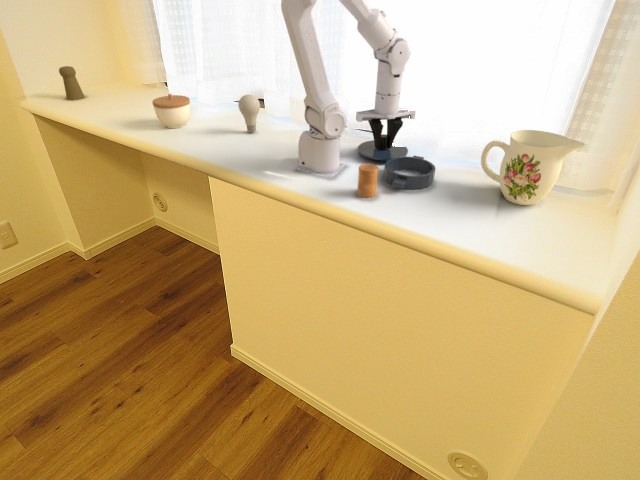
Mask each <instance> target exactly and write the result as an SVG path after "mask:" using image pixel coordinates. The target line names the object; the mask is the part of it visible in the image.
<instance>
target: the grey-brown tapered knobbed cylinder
mask: <svg viewBox="0 0 640 480" xmlns="http://www.w3.org/2000/svg"><path fill="white" fill-rule="evenodd" d="M58 73H59V75H60V76H61V78H62V82H63V85H64V92H65V97H66V99H67V100H68V101H78V100H82V99H85V98H86V97H85V94H84V92H83V90H82V88H81V86H80V84H79V81H78V79H77V77H76V74H77V73H76V69H75V68H74V67H73V66H69V65H64V66H61V67H59V68H58Z"/></svg>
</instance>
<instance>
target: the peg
mask: <svg viewBox="0 0 640 480" xmlns="http://www.w3.org/2000/svg"><path fill="white" fill-rule="evenodd" d="M378 175H379V166H378V165H376V164H373V163H361V164H360V165H359V166H358V176H357V196H358V197H360V198H363V199H372V198H374V197H376V196H377V188H378V187H377V186H378V177H379V176H378Z"/></svg>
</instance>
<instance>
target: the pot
mask: <svg viewBox="0 0 640 480" xmlns="http://www.w3.org/2000/svg"><path fill="white" fill-rule="evenodd" d="M383 168H384V169H383V180H384V182H385V183H386V184H388V185H389V186H391V187H393V188H396V189H399V190H406V191H419V190H424V189H428V188H429V187H431V186H432V185H433V183H434V181H435V173H436V166H435V165H434V164H433V162H431V161H429V160H427V159H425V157H424V156H420V155H419V156H418V155H413V156H405V157H396V158H392V159H390V160H386V162H385V163H384V167H383ZM397 171H413V172H418V173H420V174H422V175H407V174H402V173H398V172H397Z"/></svg>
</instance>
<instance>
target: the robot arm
mask: <svg viewBox="0 0 640 480" xmlns="http://www.w3.org/2000/svg"><path fill="white" fill-rule="evenodd" d="M317 1H318V0H281V2H280V9H281V13H282V17H283V20H284V24H285V26H286V30H287V33H288V37H289V40H290V43H291V47H292V50H293V54H294V58H295V61H296V64H297V68H298V71H299V75H300V78H301V81H302V84H303V88H304V92H305V95H306V96H305V97H304V98H303V104H304V120H305V122H306V124H307V125H309V130H304V131H303V132H301V134H300V136H299V139H298V145H297V146H298V147H297V148H298V167H297V170H298V171H302V172H307V173H312V174H317V175H320V176H321V175H322V176H325V177H331V178H333V177H334V176H335V175H336V174H338V173H339V172H340V171H341V170H342V169H343V168H344V167H346V164H345V163H341V162H340V161H341V160H340V156H341V155H340V154H341V138H342V134H343V132H344V131H345V129H346V127H347V121H348V120H347V116H346V114H345V113H344V111H343V110H342V109H341V108H340V104H339V101H338V99H337V98H336V96H335V95H334V93H333V92H332V89H331V87H330V83H329V80H328V75H327V71H326V66H325V63H324V59H323V55H322V51H321V47H320V43H319V39H318V35H317V32H316V31H317V30H316V27H315V24H314V19H313V16H312V12H313V11H312V10H313V9H314V7H315V5H316V3H317ZM338 1H339V2H340V4H342V6H343V7H344V8H345V9H346V10H347V11H348V12H349V13H350V14H351V16H353V18H354V19H355V20H356V21H357V25H356V29H357V32H358V33H359V34H360V35H361V37H362V38H363V39H364V40H365V42H366V43H367V44H368V45H369V46H370V48H371V49H372V50H373V57H374V59H375V60H377V71H376V73H377V74H376V85H375V86H376V88H375V97H374V108H372V109H366V110H361V111H356V113H355V120H356V122H358V123H362V122H365V121H366V122H367V121H368V125H369V127H370V129H371V133H372V136H373V140H374V144H375V148H376V149H380V143H381V135H382V133H383V129H384V125H383V123H382V121H384V120H385V121H386V135H388V136H389V138H388V149H390V148H391V146H392V143H393V142H395V139H396V136H397V134H398V133H399V131H400V130H401V128H402V127H403V124H404V121H403V119H411V120H415V118H416V112H417V111H416V110H415V111H409V112H408V110H399V111H398V109H400V107H399V106H400V99H401V90H402V81H403V73H404V72H405V67H406V64H407V63H408V61H409V59H410V57H411V52H412V51H411V50H410V47H409V44H408V41H407V40H406V39H404V38H402V37H399V35H398V30H397V29H396V28H393V27H392V26H391V24H390V23H389V22H388V20H387V19H386V17H387V14H386V13H385V11H384V10H380V9H379V8H371V7H370V6H369V5H368V3H367V1H366V0H338ZM409 116H410V118H409Z"/></svg>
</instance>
